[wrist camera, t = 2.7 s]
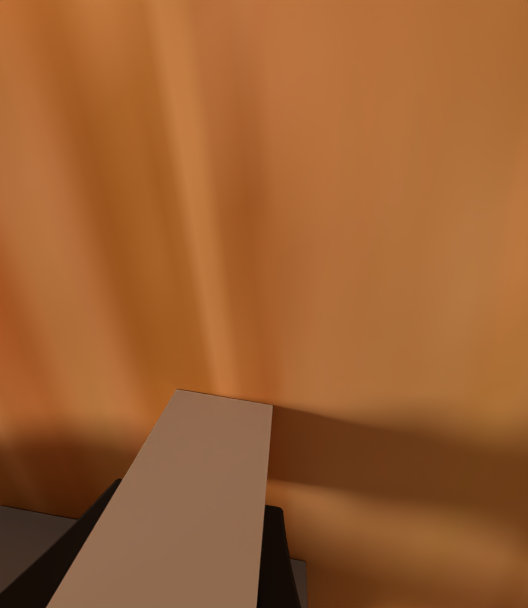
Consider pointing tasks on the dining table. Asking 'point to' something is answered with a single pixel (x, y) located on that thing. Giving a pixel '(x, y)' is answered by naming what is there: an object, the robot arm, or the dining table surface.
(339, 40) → the dining table surface
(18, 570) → the caddy
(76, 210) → the dining table surface
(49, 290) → the dining table surface
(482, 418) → the dining table surface
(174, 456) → the block
